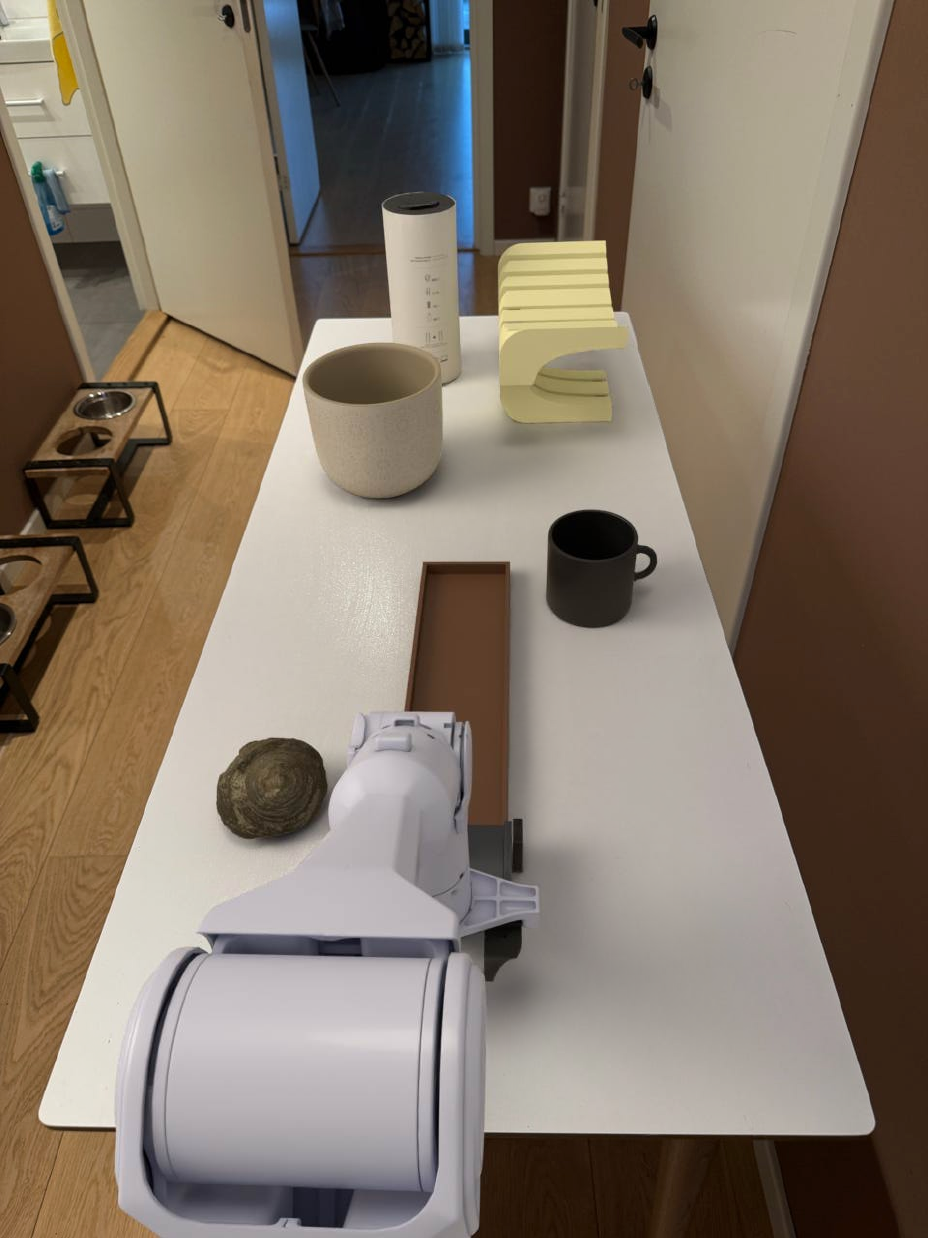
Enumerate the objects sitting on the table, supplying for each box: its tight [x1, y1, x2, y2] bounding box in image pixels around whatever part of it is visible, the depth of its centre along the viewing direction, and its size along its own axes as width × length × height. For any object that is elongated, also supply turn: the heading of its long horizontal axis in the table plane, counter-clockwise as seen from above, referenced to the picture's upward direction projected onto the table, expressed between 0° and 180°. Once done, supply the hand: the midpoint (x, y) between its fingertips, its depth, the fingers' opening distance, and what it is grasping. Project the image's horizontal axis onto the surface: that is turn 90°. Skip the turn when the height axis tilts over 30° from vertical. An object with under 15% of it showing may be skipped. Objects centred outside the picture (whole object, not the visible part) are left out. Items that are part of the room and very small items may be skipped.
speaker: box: [381, 191, 463, 386], centre depth 137 cm, size 11×10×26 cm
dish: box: [467, 820, 513, 932], centre depth 70 cm, size 15×11×4 cm
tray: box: [403, 560, 511, 825], centre depth 92 cm, size 39×10×2 cm, turn 177°
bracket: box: [512, 817, 524, 873], centre depth 77 cm, size 2×13×4 cm, turn 88°
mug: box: [545, 508, 658, 628], centre depth 100 cm, size 9×12×9 cm
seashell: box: [215, 715, 329, 840], centre depth 80 cm, size 11×12×10 cm
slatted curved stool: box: [497, 240, 629, 424], centre depth 131 cm, size 30×16×18 cm, turn 179°
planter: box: [301, 342, 444, 499], centre depth 118 cm, size 17×17×15 cm
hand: (435, 967), depth 66 cm, fingers open, 7 cm apart
